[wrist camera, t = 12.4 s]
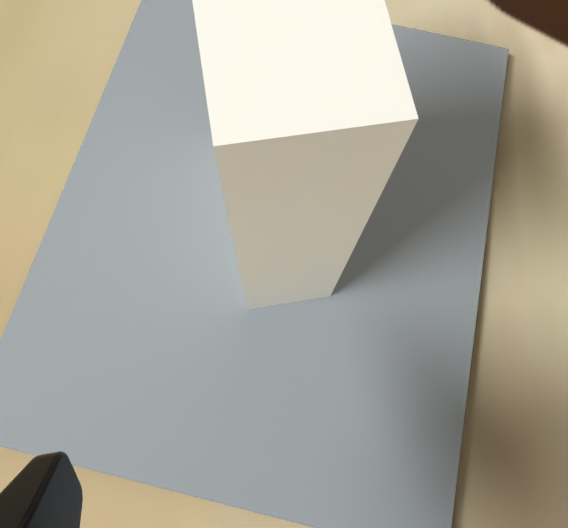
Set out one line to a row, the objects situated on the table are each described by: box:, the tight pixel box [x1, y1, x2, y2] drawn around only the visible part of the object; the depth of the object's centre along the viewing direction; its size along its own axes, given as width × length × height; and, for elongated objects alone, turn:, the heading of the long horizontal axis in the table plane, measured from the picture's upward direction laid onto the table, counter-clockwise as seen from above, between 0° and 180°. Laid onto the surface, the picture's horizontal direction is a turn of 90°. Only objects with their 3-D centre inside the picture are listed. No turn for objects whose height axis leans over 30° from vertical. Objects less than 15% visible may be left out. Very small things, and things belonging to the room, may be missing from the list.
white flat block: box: [192, 0, 419, 309], centre depth 13 cm, size 7×3×11 cm, turn 10°
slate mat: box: [0, 0, 509, 528], centre depth 19 cm, size 20×16×1 cm
